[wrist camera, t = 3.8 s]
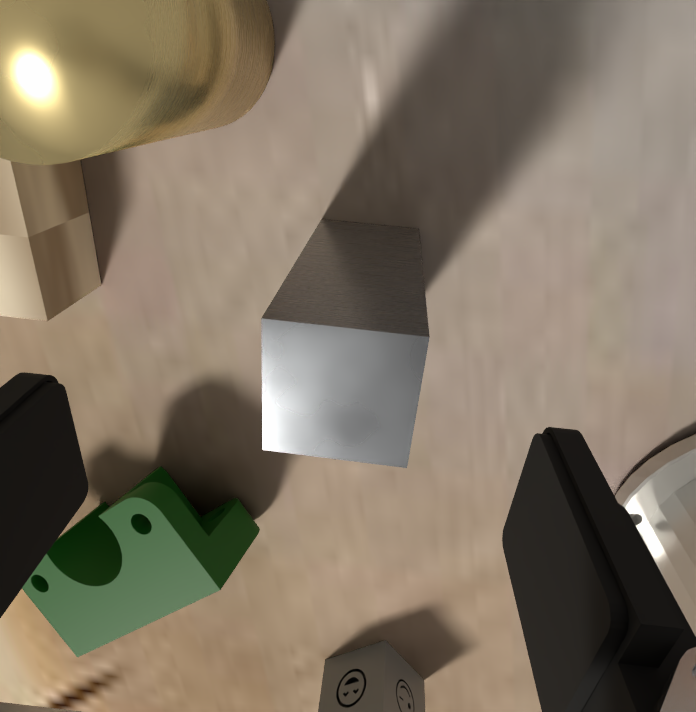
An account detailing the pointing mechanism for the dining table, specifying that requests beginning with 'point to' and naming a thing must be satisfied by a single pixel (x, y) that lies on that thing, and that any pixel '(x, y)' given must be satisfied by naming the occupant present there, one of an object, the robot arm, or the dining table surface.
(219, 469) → the dining table surface
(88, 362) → the dining table surface
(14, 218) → the socket block
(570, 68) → the dining table surface
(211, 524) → the clamp
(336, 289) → the square bit
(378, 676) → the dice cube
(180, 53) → the round bit
